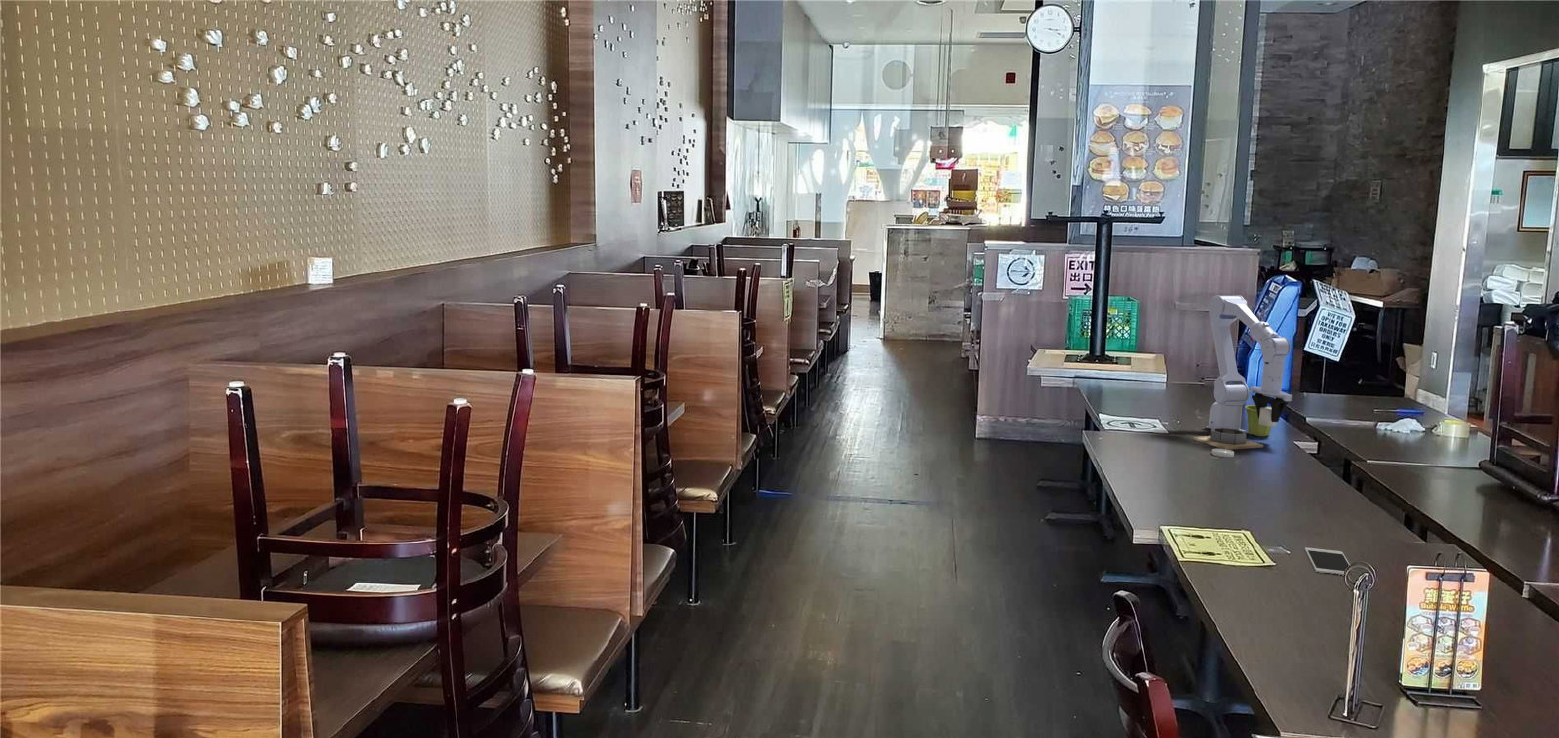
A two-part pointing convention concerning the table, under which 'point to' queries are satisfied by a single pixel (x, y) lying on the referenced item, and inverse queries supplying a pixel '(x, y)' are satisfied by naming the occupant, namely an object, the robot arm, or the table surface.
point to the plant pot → (1256, 423)
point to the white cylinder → (1266, 417)
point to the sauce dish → (1223, 453)
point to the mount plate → (1228, 446)
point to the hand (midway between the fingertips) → (1267, 420)
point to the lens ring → (1228, 436)
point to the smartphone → (1327, 560)
